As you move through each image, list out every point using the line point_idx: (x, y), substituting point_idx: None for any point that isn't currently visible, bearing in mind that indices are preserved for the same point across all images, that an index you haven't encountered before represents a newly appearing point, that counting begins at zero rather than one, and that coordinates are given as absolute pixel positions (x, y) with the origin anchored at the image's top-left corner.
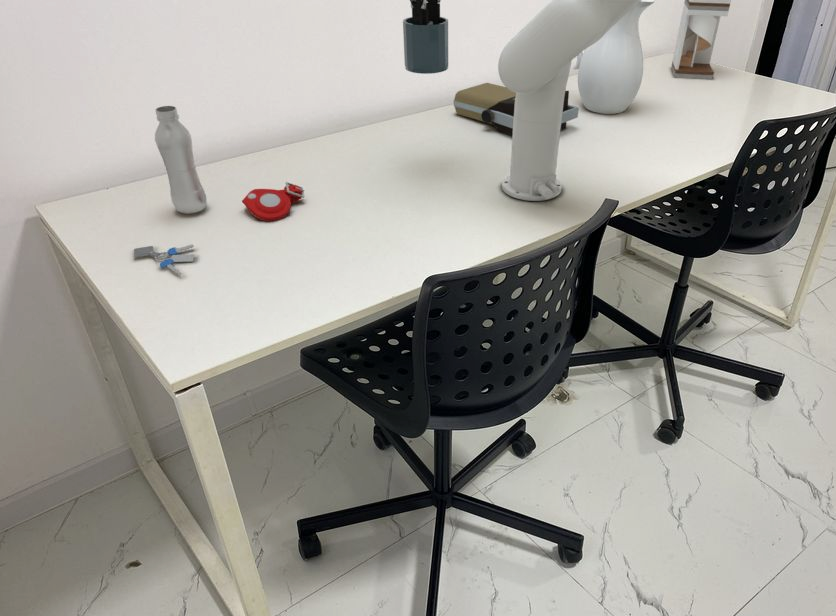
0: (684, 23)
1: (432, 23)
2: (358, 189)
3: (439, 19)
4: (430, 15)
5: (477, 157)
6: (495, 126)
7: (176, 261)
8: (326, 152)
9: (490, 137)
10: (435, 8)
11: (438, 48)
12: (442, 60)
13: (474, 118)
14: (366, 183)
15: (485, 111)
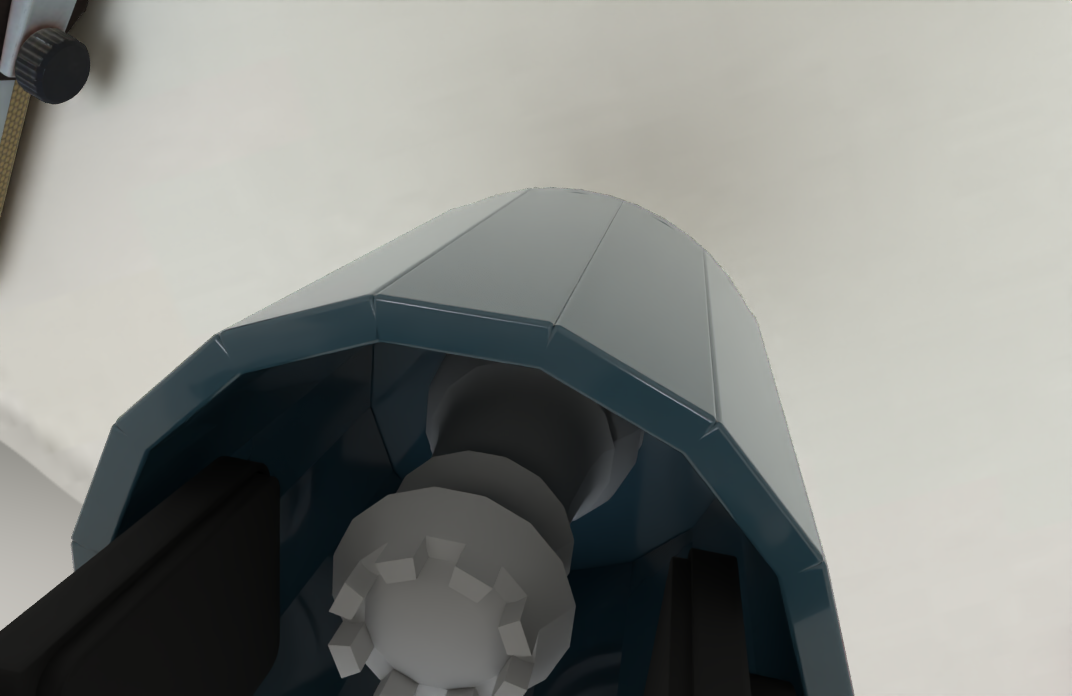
0: None
1: (419, 555)
2: (964, 456)
3: (209, 492)
4: (209, 669)
5: (453, 16)
6: (71, 23)
7: None
8: None
9: (181, 24)
10: (116, 673)
11: (702, 299)
12: (652, 230)
13: (12, 167)
14: (891, 442)
15: (43, 75)
